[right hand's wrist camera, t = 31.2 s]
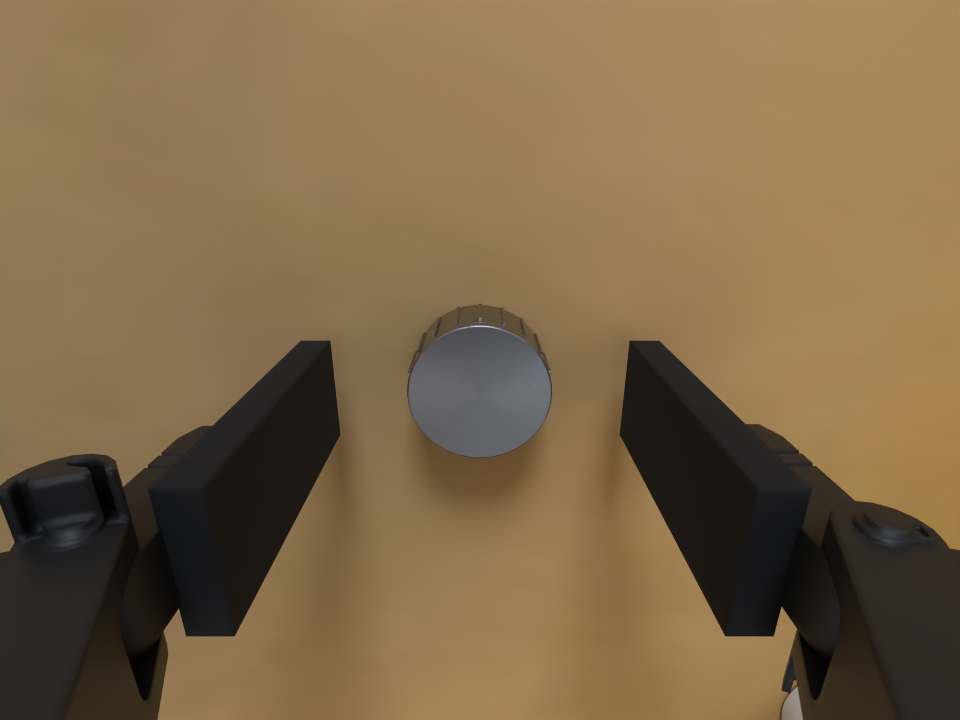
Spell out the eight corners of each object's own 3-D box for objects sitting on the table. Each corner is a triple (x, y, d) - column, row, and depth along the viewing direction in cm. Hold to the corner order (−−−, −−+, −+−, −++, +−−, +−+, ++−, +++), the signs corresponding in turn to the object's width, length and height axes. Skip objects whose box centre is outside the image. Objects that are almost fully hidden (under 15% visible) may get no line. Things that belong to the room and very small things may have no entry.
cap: (447, 442, 16) (442, 478, 14) (392, 333, 15) (378, 358, 13) (562, 398, 16) (574, 430, 14) (515, 281, 14) (520, 299, 12)
